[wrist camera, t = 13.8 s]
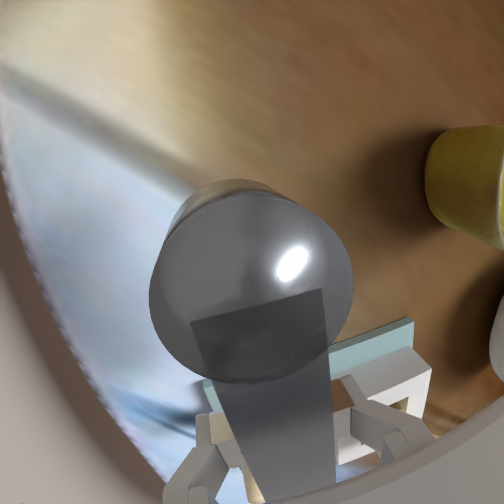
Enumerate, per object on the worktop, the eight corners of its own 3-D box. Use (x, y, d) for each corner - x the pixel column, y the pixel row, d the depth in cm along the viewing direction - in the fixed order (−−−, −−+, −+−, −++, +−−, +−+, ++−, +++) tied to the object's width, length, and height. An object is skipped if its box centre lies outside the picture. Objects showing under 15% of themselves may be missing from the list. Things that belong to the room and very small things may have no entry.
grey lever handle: (150, 198, 10) (119, 231, 6) (290, 165, 10) (342, 177, 6) (246, 463, 15) (257, 522, 11) (327, 441, 15) (351, 496, 11)
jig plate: (202, 380, 25) (206, 433, 19) (408, 316, 26) (446, 349, 21) (241, 466, 29) (249, 509, 23) (398, 413, 31) (423, 446, 25)
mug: (395, 218, 21) (525, 220, 12) (415, 107, 22) (519, 86, 13) (458, 269, 27) (546, 281, 18) (472, 179, 28) (552, 176, 19)
